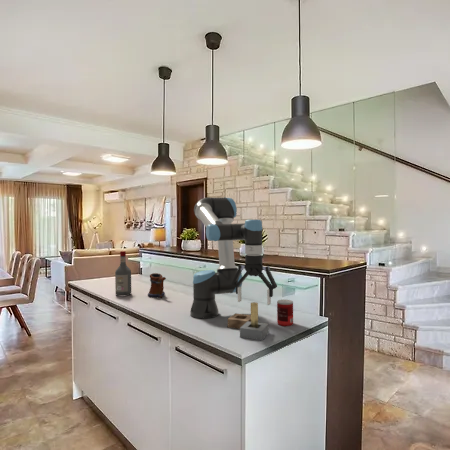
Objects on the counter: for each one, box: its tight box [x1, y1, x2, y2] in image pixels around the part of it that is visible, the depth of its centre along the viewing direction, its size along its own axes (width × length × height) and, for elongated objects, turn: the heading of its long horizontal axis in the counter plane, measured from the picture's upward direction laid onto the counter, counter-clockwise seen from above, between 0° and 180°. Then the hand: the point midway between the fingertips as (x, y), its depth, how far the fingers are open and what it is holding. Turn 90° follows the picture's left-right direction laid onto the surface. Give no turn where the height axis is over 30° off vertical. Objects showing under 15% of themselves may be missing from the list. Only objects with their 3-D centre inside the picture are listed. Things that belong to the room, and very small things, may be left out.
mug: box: [147, 272, 167, 299], centre depth 218 cm, size 18×12×15 cm, turn 37°
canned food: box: [276, 299, 294, 327], centre depth 158 cm, size 8×8×11 cm
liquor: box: [114, 250, 132, 296], centre depth 226 cm, size 9×9×30 cm
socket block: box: [239, 321, 270, 341], centre depth 143 cm, size 10×10×4 cm
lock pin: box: [250, 301, 259, 328], centre depth 143 cm, size 3×3×14 cm
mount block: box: [227, 312, 251, 330], centre depth 156 cm, size 10×10×4 cm
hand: (254, 302), depth 143 cm, fingers open, 13 cm apart
